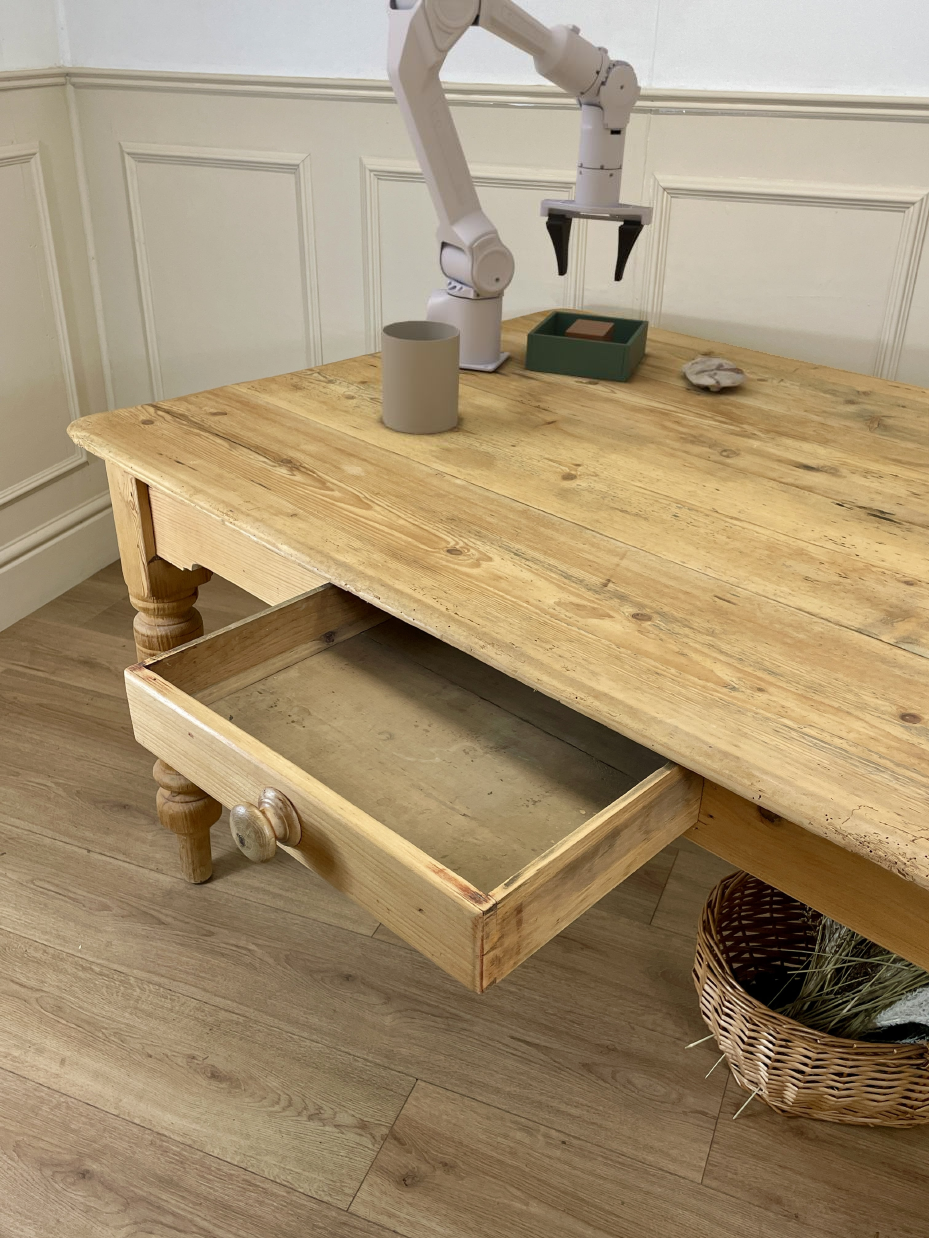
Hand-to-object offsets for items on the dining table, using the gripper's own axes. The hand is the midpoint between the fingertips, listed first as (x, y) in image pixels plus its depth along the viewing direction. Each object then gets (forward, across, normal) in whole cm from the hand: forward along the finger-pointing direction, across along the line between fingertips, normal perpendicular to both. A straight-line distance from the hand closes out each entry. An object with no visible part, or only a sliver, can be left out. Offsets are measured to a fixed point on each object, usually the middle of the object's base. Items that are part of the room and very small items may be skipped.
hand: (590, 277), depth 134 cm
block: (+9, -2, +7) cm, 11 cm away
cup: (+10, +10, +37) cm, 40 cm away
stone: (+10, -19, +10) cm, 24 cm away
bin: (+9, -2, +7) cm, 12 cm away
